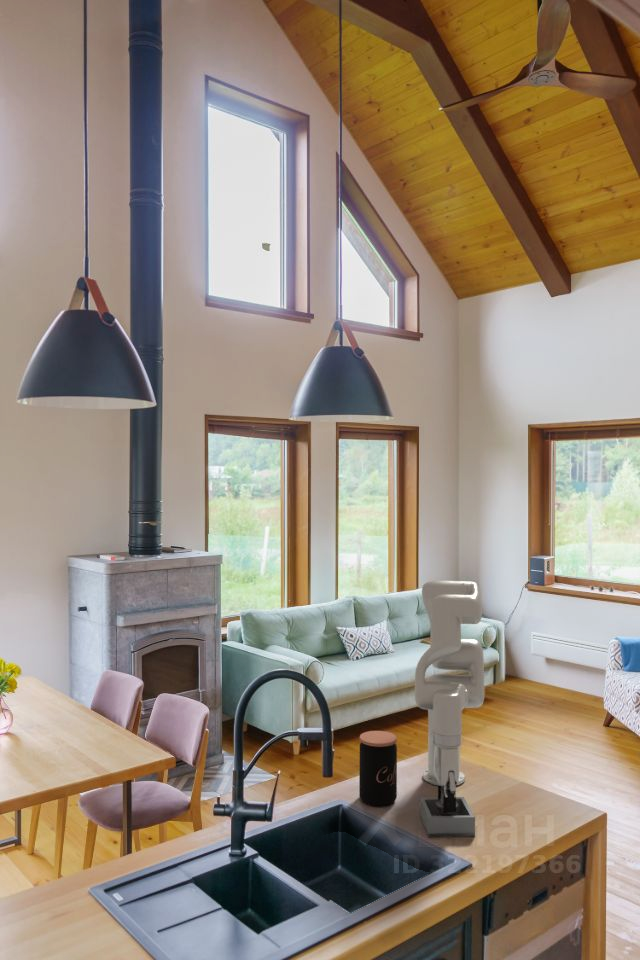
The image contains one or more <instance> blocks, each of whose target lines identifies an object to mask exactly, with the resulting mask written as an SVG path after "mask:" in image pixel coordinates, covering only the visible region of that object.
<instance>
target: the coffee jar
mask: <svg viewBox="0 0 640 960" xmlns="http://www.w3.org/2000/svg"><path fill="white" fill-rule="evenodd" d="M359 741H360V743H359V775H358V776H359V780H358V781H359V783H358V784H359V787H358V788H359V791H358V793H359V794H358V795H359V798H360V799H361V802H362V803H363V804H365V805H367V806H369V807H374V806H375V808H384V807H389V806H392V804H394V802H395V801H396V800H397V799H398V798H397V796H398V795H397V793H398V790H397V789H398V786H397V785H398V784H397V783H398V770H397V769H398V746H397V744H396V743H397V741H398V738H397V735H396V734H394V733H392V732H390V731H385V730H384V731H383V730H369V731H365V732H362V733H360V735H359Z"/></svg>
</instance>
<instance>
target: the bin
mask: <svg viewBox="0 0 640 960" xmlns="http://www.w3.org/2000/svg"><path fill="white" fill-rule="evenodd" d="M437 800H438V797H420V798H419V818H420V820H421V823H422V825H423V827H425V828H424V830H425V831H426V832H425V833H426V835H427V837H428V838H432V839H433V838H467V837H470V838H471V837H476V816H475V814H474V812H473V811H472V809H471V807H470V805H469V803H468V802H467V800H466V799H465V797H464V796H462V797H461V796H459V797H457V796H456V802H457V803H458V807H457V810H456V812H455V813H454V814H455V815H456V816H437V814H438V813H440V812H439V811H438V809H437V805H436V801H437Z"/></svg>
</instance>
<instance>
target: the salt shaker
mask: <svg viewBox="0 0 640 960" xmlns="http://www.w3.org/2000/svg"><path fill="white" fill-rule="evenodd" d="M446 784H449V782H447V783H446ZM449 788H450V787H447V791H448V789H449ZM440 790H441V799H440V800H437V801H436V805H437V809H438V811H439V812H440V813H438V814H437V816H456V815H455V814H454V813H455V812H444V811H443V796H445V793H444V786H442V787H441V788H440ZM457 807H458V803H457V802H456V810H457Z"/></svg>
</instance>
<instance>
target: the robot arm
mask: <svg viewBox="0 0 640 960" xmlns="http://www.w3.org/2000/svg"><path fill="white" fill-rule="evenodd" d="M421 587H422V588H421V596H422V602H423V606H424V608H425V611H426V614H427V617H428V619H429V623H430V641H429V642H430V646H429V648H428V649H427V650H426V651H425V652H424V653H423V654H422V656H421V657H420V659H419V660H418V662H417V664H416V667H415V672H414V701H415V704H416V706H417V707H418V708H420V709H422V710H427V715H428V716H427V717H428V722H427V723H428V725H427V726H428V727H427V729H428V732H427V733H428V735H427V737H428V738H427V739H428V740H427V743H428V744H427V745H428V746H427V751H428V752H427V755H428V757H427V759H428V761H427V763H428V764H427V769H425V770H424V771H423V773H422V778H423V780H424V781H425V782H427V783H428V784H431V785H435V786H437V798H438V800H440V799H441V790H440V788H441V787H442V786H444V793H445V796H443V811H444V812H456V797H457V792H456V791H457V788H456V787H457V786H460V785H462V784H463V783H464V782H465V781H466V779H465V778H466V775H465V774H464V773H463V772H462V771H461V770H460V769H461V765H460V764H461V763H460V762H461V747H462V740H463V738H462V735H463V734H462V732H463V731H462V726H463V719H462V717H463V710H464V709H478V708H480V707H482V706H483V705H484V702H485V701H484V700H485V668H484V667H485V666H484V664H485V662H484V661H485V660H484V649H483V646H482V644H481V642H480V641H478V640H477V639H474V638H462V629H461V628H462V627H461V626H462V625H477V624H479V623H480V622H481V620H482V617H483V602H482V597H481V596H482V595H481V589H480V586H479V584H478V583H477V582H474V581H467V580H431V581H426V582H425V583H424V584H423V585H422V586H421ZM431 665H432V667H433V668H435V669H438V670H449V671H466V672H467V673H468V674H467V675H465V674H461V675H460V674H450V673H449V674H448V673H446V674H443V673H442V674H439V673H438V674H433V675H431V676H429V677H428V678H427V680H426V672H427V669H428V668H430V666H431ZM447 782H449V784H446V783H447ZM447 787H450V788H449V789H448V791H447Z"/></svg>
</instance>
